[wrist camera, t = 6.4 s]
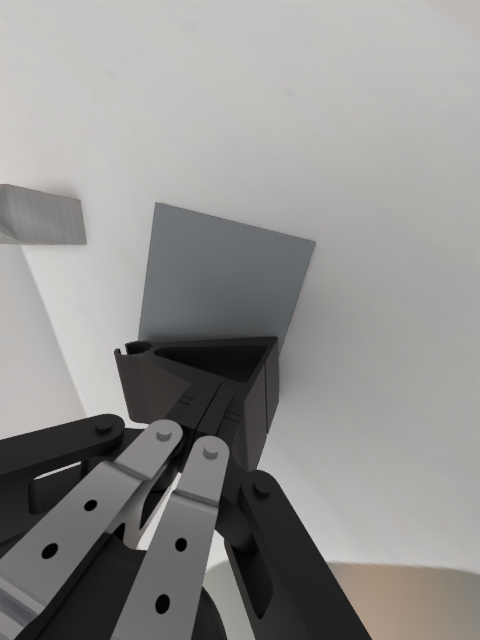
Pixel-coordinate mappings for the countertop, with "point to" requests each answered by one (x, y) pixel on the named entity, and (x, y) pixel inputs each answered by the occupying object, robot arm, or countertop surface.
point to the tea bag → (39, 218)
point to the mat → (219, 279)
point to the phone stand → (194, 369)
